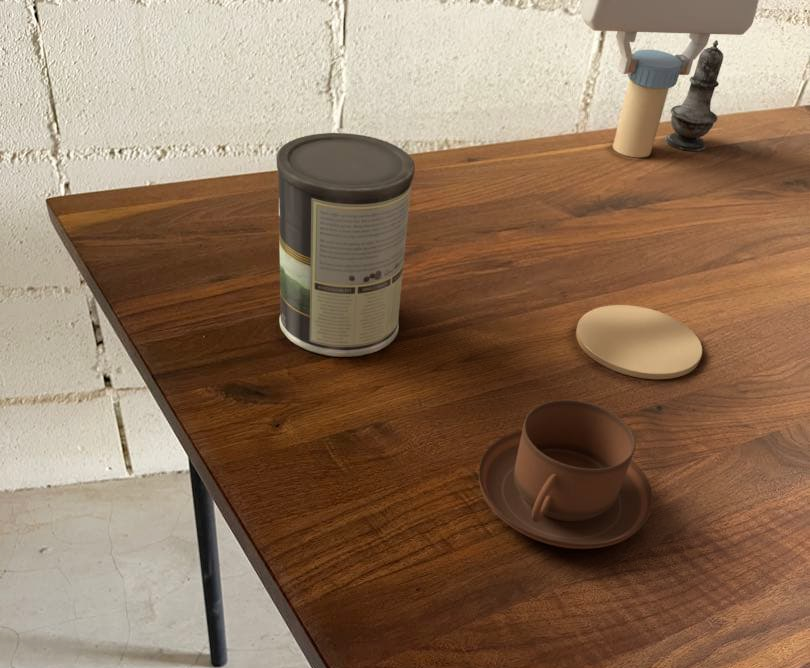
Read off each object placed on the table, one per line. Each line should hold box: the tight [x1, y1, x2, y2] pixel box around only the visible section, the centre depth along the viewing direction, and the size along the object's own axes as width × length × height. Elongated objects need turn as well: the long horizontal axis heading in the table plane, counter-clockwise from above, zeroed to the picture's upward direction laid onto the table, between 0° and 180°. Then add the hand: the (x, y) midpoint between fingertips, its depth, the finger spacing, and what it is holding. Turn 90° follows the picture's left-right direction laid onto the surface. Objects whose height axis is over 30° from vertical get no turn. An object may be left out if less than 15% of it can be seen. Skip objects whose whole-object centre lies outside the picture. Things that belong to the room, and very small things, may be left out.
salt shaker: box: [664, 39, 724, 152], centre depth 109 cm, size 6×6×12 cm
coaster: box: [575, 304, 703, 380], centre depth 78 cm, size 11×11×1 cm
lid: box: [627, 49, 682, 89], centre depth 104 cm, size 6×6×2 cm
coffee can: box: [275, 132, 416, 358], centre depth 71 cm, size 10×10×14 cm
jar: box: [612, 78, 670, 158], centre depth 107 cm, size 5×5×10 cm
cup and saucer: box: [478, 399, 654, 550], centre depth 60 cm, size 12×12×6 cm
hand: (652, 73), depth 104 cm, fingers closed on lid, 5 cm apart
